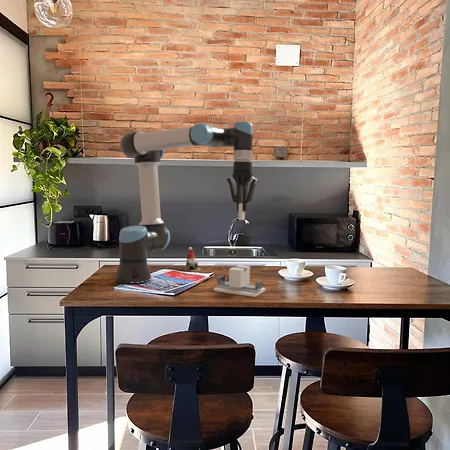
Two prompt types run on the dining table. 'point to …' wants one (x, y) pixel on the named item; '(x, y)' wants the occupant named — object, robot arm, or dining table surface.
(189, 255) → the figurine
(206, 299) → the dining table surface
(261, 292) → the mount plate
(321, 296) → the dining table surface
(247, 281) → the block
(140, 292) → the dining table surface
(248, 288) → the rail
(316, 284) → the dining table surface
